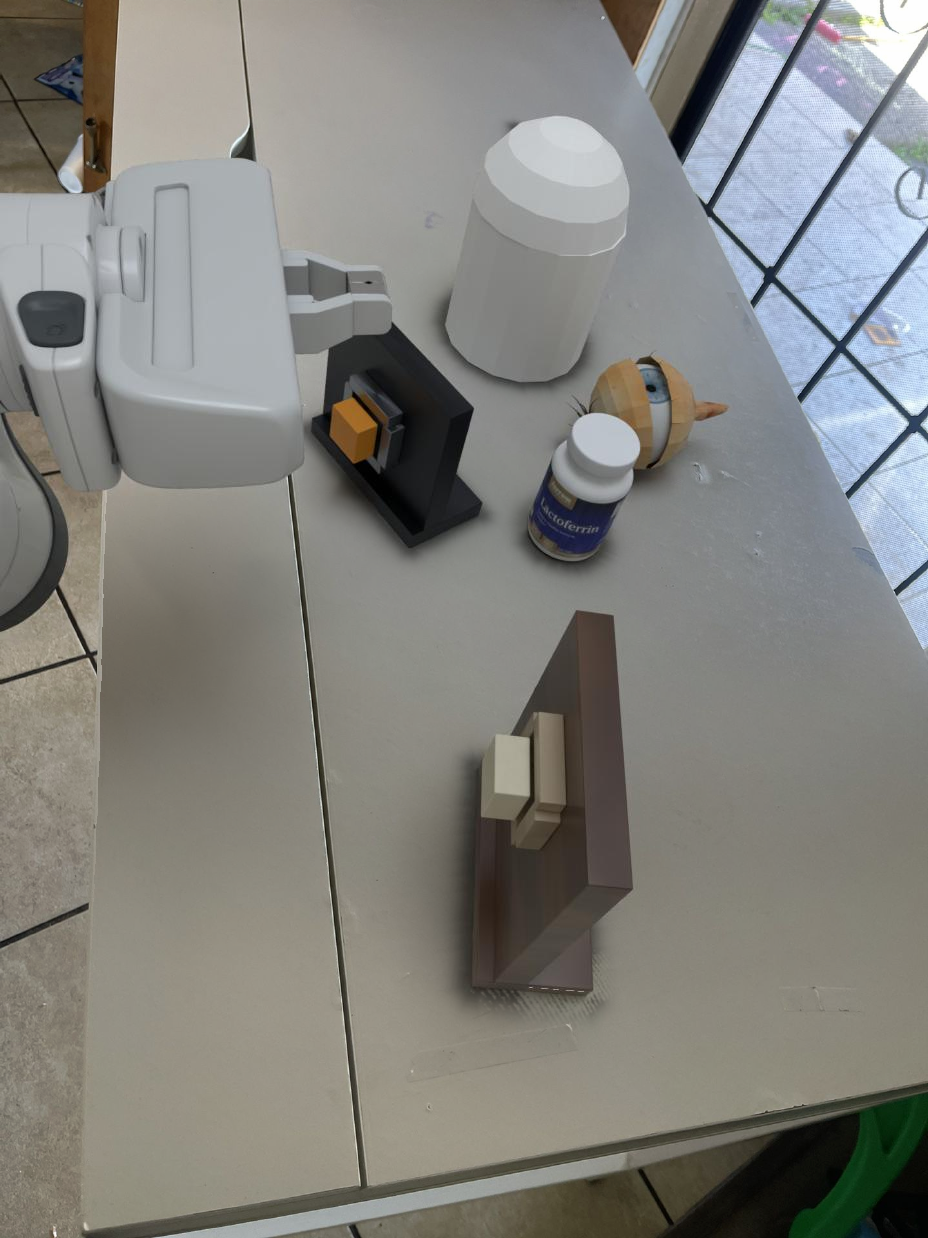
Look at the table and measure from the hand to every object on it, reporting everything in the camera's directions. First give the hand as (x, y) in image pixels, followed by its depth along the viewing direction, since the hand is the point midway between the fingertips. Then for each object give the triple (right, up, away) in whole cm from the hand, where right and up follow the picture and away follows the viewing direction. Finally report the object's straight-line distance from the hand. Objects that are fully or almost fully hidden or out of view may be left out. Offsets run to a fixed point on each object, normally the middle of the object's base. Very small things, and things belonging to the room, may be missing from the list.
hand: (387, 299), depth 43 cm
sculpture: (+18, 0, +40) cm, 44 cm away
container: (+8, +12, +45) cm, 48 cm away
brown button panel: (+7, -31, +16) cm, 36 cm away
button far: (-5, -2, +26) cm, 26 cm away
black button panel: (-2, -3, +32) cm, 33 cm away
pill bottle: (+12, -8, +33) cm, 35 cm away
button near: (+5, -24, +5) cm, 25 cm away
